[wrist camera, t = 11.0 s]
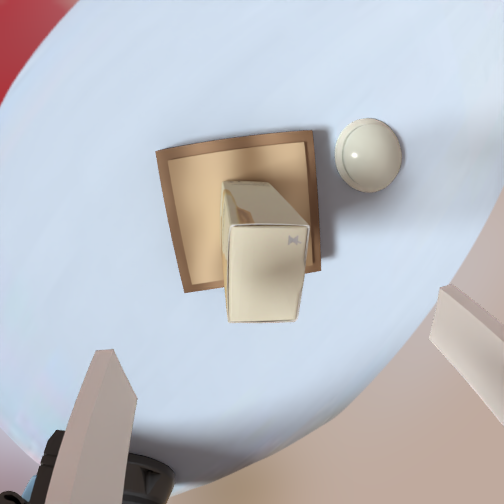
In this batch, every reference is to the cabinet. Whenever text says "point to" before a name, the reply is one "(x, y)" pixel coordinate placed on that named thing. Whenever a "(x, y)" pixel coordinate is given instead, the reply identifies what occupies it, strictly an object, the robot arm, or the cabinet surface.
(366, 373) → the cabinet surface
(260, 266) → the skincare box
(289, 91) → the cabinet surface
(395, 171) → the trinket dish
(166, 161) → the tan square flat tray
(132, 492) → the robot arm
